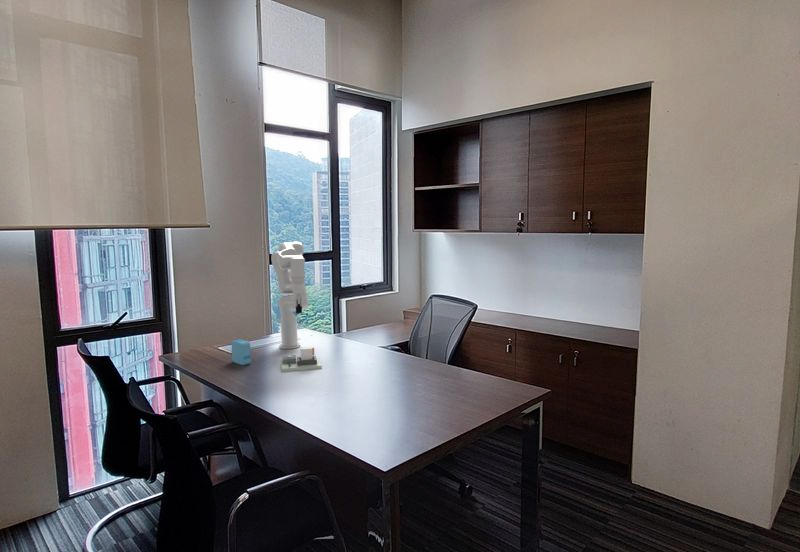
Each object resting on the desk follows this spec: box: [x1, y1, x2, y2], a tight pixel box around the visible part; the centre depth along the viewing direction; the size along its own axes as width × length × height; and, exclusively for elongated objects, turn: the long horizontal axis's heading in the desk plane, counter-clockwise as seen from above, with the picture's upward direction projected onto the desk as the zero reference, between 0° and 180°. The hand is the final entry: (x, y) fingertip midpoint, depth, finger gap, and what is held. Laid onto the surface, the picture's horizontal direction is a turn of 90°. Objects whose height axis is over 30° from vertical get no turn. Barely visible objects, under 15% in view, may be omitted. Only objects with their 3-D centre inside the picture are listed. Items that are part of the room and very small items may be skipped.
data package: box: [230, 338, 252, 366], centre depth 259 cm, size 12×4×12 cm, turn 48°
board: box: [281, 354, 323, 373], centre depth 252 cm, size 16×20×5 cm
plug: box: [299, 346, 315, 360], centre depth 252 cm, size 4×7×8 cm, turn 104°
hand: (298, 313), depth 261 cm, fingers closed
